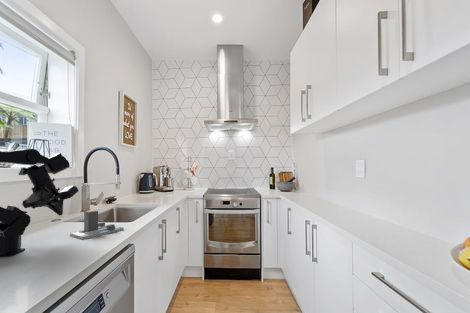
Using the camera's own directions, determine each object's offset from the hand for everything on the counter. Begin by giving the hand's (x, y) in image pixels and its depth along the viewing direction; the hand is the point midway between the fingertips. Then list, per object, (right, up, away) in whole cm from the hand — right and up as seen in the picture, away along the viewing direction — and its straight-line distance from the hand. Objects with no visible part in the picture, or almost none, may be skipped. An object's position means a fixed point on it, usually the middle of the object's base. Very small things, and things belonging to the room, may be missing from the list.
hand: (61, 214), depth 99 cm
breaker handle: (+7, -9, +8) cm, 14 cm away
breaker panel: (+9, -10, +10) cm, 17 cm away
